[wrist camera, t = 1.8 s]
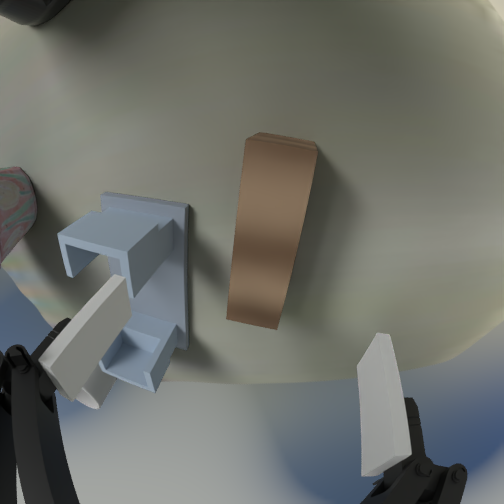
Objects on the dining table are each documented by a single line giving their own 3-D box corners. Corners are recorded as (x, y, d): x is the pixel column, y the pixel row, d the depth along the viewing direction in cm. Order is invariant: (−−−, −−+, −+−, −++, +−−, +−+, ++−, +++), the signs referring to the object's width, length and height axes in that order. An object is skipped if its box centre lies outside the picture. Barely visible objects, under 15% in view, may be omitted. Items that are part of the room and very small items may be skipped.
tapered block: (260, 132, 21) (246, 139, 16) (314, 141, 21) (318, 151, 16) (240, 280, 29) (226, 319, 24) (282, 289, 29) (277, 329, 23)
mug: (131, 344, 39) (98, 397, 29) (128, 368, 43) (101, 415, 34) (72, 308, 38) (34, 352, 29) (75, 336, 42) (45, 376, 33)
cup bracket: (105, 191, 26) (48, 226, 19) (188, 204, 25) (140, 249, 18) (126, 325, 36) (95, 369, 29) (189, 345, 36) (165, 397, 28)
